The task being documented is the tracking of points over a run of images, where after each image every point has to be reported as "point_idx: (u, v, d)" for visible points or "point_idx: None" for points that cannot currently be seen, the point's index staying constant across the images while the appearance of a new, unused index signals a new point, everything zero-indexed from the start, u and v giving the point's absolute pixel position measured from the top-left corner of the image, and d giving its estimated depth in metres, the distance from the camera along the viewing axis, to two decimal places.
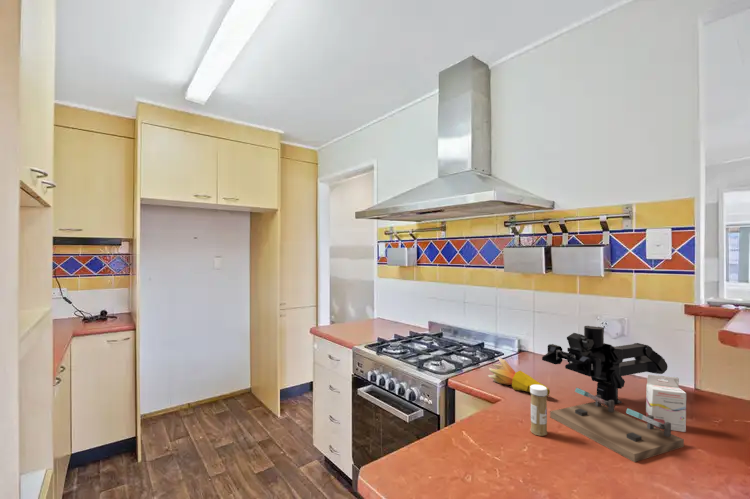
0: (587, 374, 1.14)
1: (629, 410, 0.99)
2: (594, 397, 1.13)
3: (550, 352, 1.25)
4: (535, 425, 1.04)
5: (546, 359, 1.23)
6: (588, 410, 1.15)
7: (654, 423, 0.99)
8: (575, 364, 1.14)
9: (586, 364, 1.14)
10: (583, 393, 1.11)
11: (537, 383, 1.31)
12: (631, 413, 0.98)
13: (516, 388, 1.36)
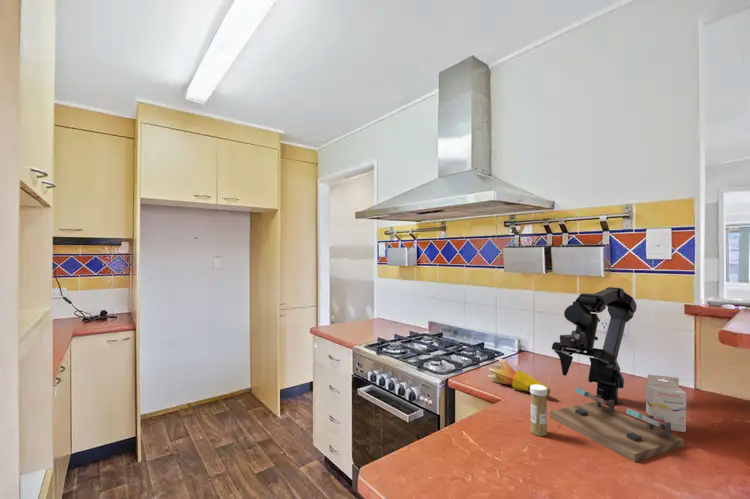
0: (607, 365, 1.10)
1: (629, 410, 0.99)
2: (594, 397, 1.13)
3: (561, 359, 1.20)
4: (535, 425, 1.04)
5: (566, 371, 1.19)
6: (588, 410, 1.15)
7: (654, 423, 0.99)
8: (593, 372, 1.09)
9: (599, 361, 1.09)
10: (583, 393, 1.11)
11: (537, 383, 1.31)
12: (631, 413, 0.98)
13: (516, 388, 1.36)
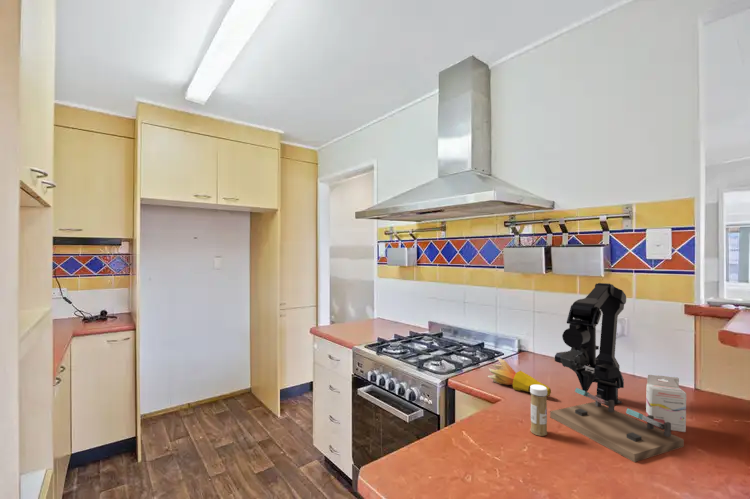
0: None
1: (629, 410, 0.99)
2: (594, 397, 1.13)
3: (578, 376, 1.14)
4: (535, 425, 1.04)
5: None
6: (588, 410, 1.15)
7: (654, 423, 0.99)
8: (587, 383, 1.12)
9: None
10: (583, 393, 1.11)
11: (538, 383, 1.31)
12: (631, 413, 0.98)
13: (517, 388, 1.36)
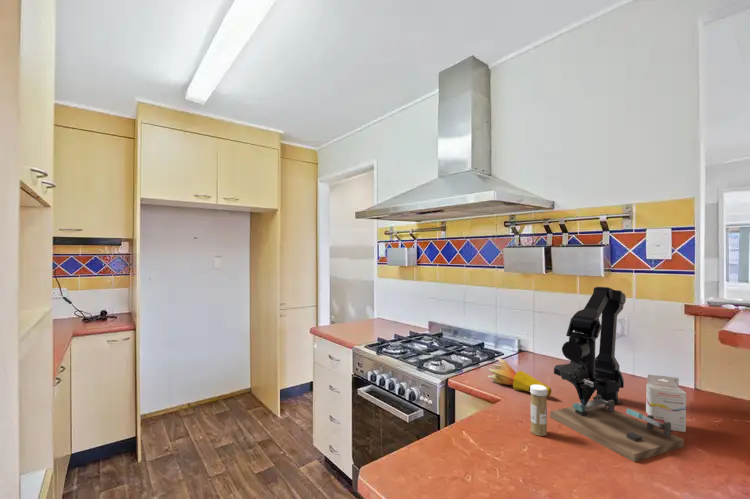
0: None
1: (629, 410, 0.99)
2: (593, 407, 1.13)
3: (577, 389, 1.14)
4: (535, 425, 1.04)
5: None
6: (588, 410, 1.15)
7: (654, 423, 0.99)
8: (586, 397, 1.12)
9: None
10: (581, 410, 1.11)
11: (539, 383, 1.31)
12: (631, 413, 0.98)
13: (517, 388, 1.36)
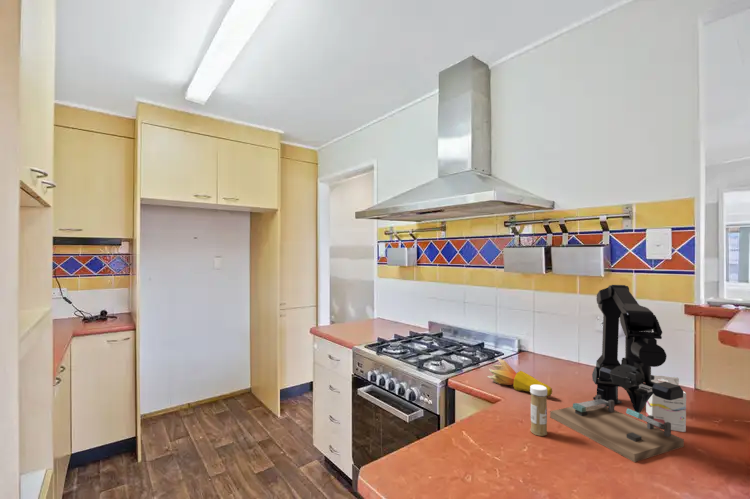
0: None
1: (629, 410, 0.99)
2: (593, 407, 1.13)
3: (630, 394, 0.99)
4: (535, 425, 1.04)
5: None
6: None
7: (654, 423, 0.99)
8: (641, 403, 0.97)
9: None
10: (580, 410, 1.11)
11: (539, 383, 1.31)
12: (631, 413, 0.98)
13: (518, 388, 1.36)
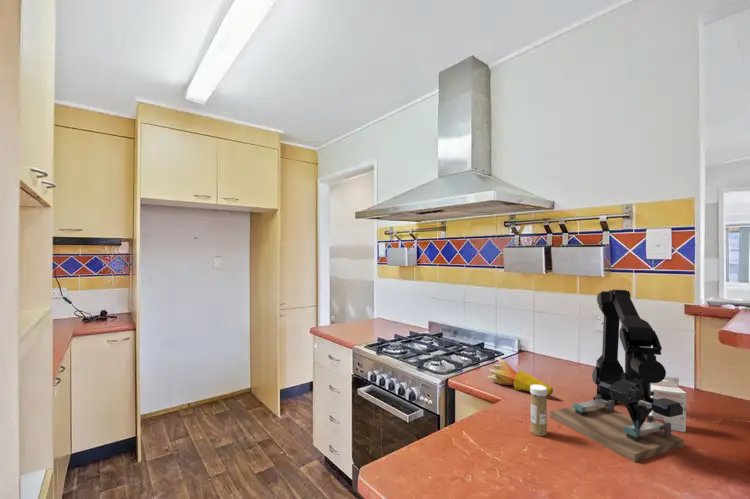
0: None
1: (626, 429, 0.98)
2: (593, 407, 1.13)
3: (629, 410, 0.99)
4: (535, 425, 1.04)
5: None
6: None
7: (653, 430, 0.99)
8: (640, 419, 0.97)
9: None
10: (580, 410, 1.11)
11: (540, 382, 1.31)
12: (628, 432, 0.98)
13: (518, 388, 1.36)
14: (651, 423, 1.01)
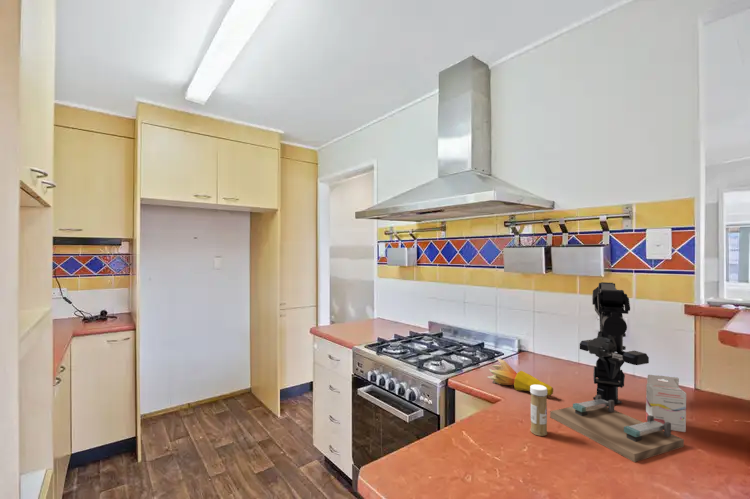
0: None
1: (626, 429, 0.98)
2: (593, 407, 1.13)
3: (605, 363, 1.14)
4: (535, 425, 1.04)
5: None
6: None
7: (653, 430, 0.99)
8: (614, 370, 1.12)
9: None
10: (580, 410, 1.11)
11: (540, 382, 1.31)
12: (628, 432, 0.98)
13: (518, 388, 1.36)
14: (651, 423, 1.01)
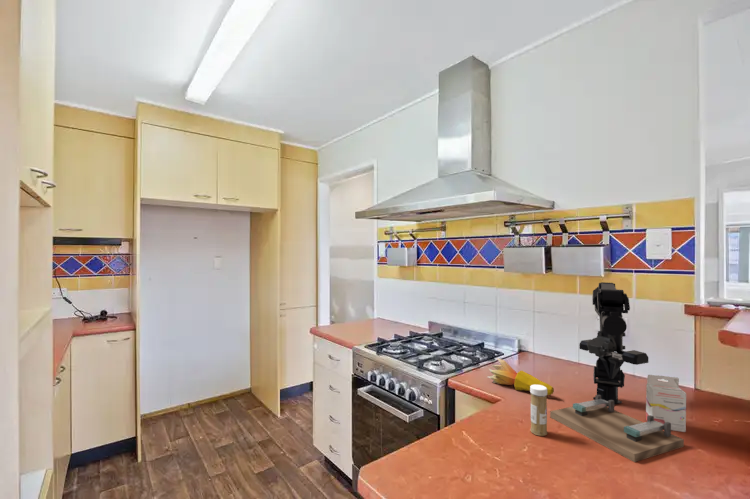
0: None
1: (626, 429, 0.98)
2: (593, 407, 1.13)
3: (605, 363, 1.14)
4: (535, 425, 1.04)
5: None
6: None
7: (653, 430, 0.99)
8: (613, 370, 1.12)
9: None
10: (580, 410, 1.11)
11: (541, 382, 1.31)
12: (628, 432, 0.98)
13: (519, 388, 1.36)
14: (651, 423, 1.01)
